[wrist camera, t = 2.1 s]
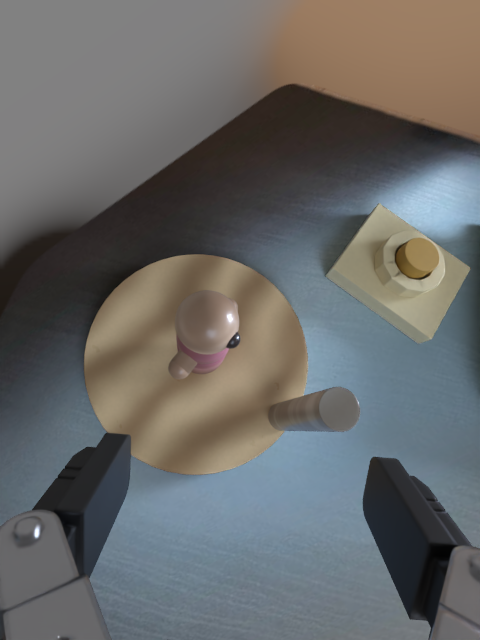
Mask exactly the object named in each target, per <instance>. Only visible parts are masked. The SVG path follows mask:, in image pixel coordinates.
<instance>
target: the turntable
mask: <svg viewBox="0 0 480 640" xmlns="http://www.w3.org/2000/svg"><path fill="white" fill-rule="evenodd" d="M307 373H308V354H307V347H306V341H305V337H304V334H303V330H302V327H301V325H300V322H299V320H298V317H297V315H296V314H295V312H294V310H293V308H292V307H291V305H290V303H289V302H288V301H287V299H286V298H285V297H284V295H283V294H282V293H281V292H280V291H279V290H278V289H277V288H276V287H275V286H274V284H272V283H271V282H270V281H269V280H268V279H266V278H265V277H264V276H263V275H261V274H259V273H258V272H256V271H255V270H253V269H252V268H249V267H247V266H245V265H243V264H241V263H239V262H236V261H233V260H230V259H227V258H223V257H218V256H212V255H203V254H195V255H182V256H174V257H171V258H167V259H163V260H160V261H157V262H155V263H152V264H150V265H148V266H146V267H144V268H142V269H140V270H138V271H136V272H135V273H134V274H132V275H131V276H129V277H128V278H127V279H125V280H124V281H123V282H122V283H121V284H120V285H119V286H118V287H116V288H115V289H114V291H113V292H112V293H111V294H110V295H109V296H108V298H107V299H106V300H105V301H104V303H103V305H102V306H101V308H100V309H99V311H98V312H97V315H96V317H95V319H94V321H93V323H92V325H91V328H90V331H89V335H88V338H87V342H86V348H85V354H84V375H85V384H86V389H87V392H88V396H89V400H90V402H91V405H92V407H93V410H94V412H95V414H96V416H97V418H98V419H99V421H100V423H101V424H102V426H103V428H104V429H105V430H106V431H107V433H118V434H129V435H130V436H131V455H132V456H134V457H135V458H137V459H138V460H140V461H142V462H144V463H146V464H148V465H150V466H152V467H155V468H158V469H161V470H164V471H167V472H173V473H179V474H187V475H203V474H212V473H218V472H222V471H226V470H230V469H233V468H235V467H238V466H240V465H242V464H245V463H247V462H249V461H250V460H252V459H254V458H255V457H257V456H259V455H260V454H261V453H263V452H264V451H265V450H267V449H268V448H269V447H270V446H272V445H273V444H274V442H275V441H276V440H277V439H278V438H279V437H280V436H281V435H282V434H283V433H284V431H328V432H344V431H348V430H350V429H352V428H353V427H354V426H355V425H356V423H357V422H358V420H359V417H360V406H359V402H358V400H357V398H356V397H355V395H354V394H353V393H352V392H350V391H349V390H347V389H345V388H342V387H333V388H329V389H326V390H322V391H319V392H315V393H312V394H308V395H304V396H303V394H304V390H305V386H306V381H307Z"/></svg>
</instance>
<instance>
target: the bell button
mask: <svg viewBox="0 0 480 640" xmlns="http://www.w3.org/2000/svg"><path fill="white" fill-rule="evenodd" d="M395 260H396V265H397V267H398V269H399V270H400V271H401V272H402V273H403V274H404V275H406V276H408V277H410V278H421V277H423V276H425V275H426V274H428V273H429V272H431V271H433V270H434V269H435V268H436V267H437V266H438V264H439V260H440V256H439V252H438V250H437V248H436V247H435V245H434V244H433V243H431V242H430V241H429V240H427V239H424V238H413V239H411V240H409V241H408V242H407V243H406V244H405V245H403V246H402V247H401V248H400V249H399V250H398V251H397V253H396V257H395Z"/></svg>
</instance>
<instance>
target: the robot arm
mask: <svg viewBox="0 0 480 640" xmlns="http://www.w3.org/2000/svg"><path fill="white" fill-rule="evenodd" d="M130 459H131V436H130V435H129V434H118V433H106V434H105V435H104V437H103V438H102V440H101V441H100V443H99V444H98V445H97V447H86V448H85V449H83V450H81V451H80V452H78V453H77V454H75V455H74V456H73V457H72V458H71V460H70V461H69V462H68V463H67V465H66V466H65V469H63V470H62V471H61V473H60V474H59V475H58V478H56V479H55V480H54V482H53V483H52V484H51V486H50V487H49V488H48V490H47V491H46V492H45V494H44V495H43V496H42V497H41V499H40V500H39V501H38V503H37V504H36V505H35V507H34V508H33V509H32V511H27V512H24V513H21V514H18V515H16V516H14V517H12V518H11V519H9V520H7V521H6V522H5V523H4V524H2V525H1V526H0V640H112V639H111V636H110V634H109V631H108V628H107V625H106V623H105V620H104V617H103V615H102V612H101V609H100V607H99V604H98V601H97V599H96V596H95V593H94V590H93V588H92V585H91V582H90V580H89V578H90V576H91V573H92V571H93V569H94V567H95V564H96V562H97V560H98V558H99V555H100V553H101V551H102V549H103V546H104V544H105V542H106V540H107V537H108V535H109V533H110V531H111V528H112V526H113V524H114V522H115V519H116V517H117V515H118V513H119V510H120V508H121V506H122V504H123V501H124V499H125V497H126V494H127V490H128V486H129V480H130ZM363 511H364V516H365V519H366V521H367V523H368V526H369V528H370V530H371V532H372V535H373V537H374V539H375V541H376V544H377V546H378V548H379V550H380V553H381V555H382V557H383V559H384V562H385V564H386V566H387V568H388V571H389V573H390V575H391V578H392V580H393V582H394V584H395V587H396V589H397V591H398V593H399V596H400V598H401V600H402V602H403V605H404V607H405V609H406V611H407V614H408V616H409V618H410V619H413V620H426V621H428V622H429V625H430V627H431V631H430V635H429V638H428V640H480V549H479V548H476V547H473V546H472V545H471V544H470V542H469V541H468V540H467V538H466V537H465V536H464V534H463V533H462V532H461V530H460V529H459V528H458V526H457V525H456V524H455V522H454V521H453V520H452V518H451V517H450V516H449V514H448V513H446V512H445V509H444V508H443V506H442V505H441V504H440V502H438V500H437V498H436V497H435V496H434V494H433V493H432V492H431V490H430V489H429V488H428V487H427V486H426V485H425V484H423V483H422V482H421V481H420V480H418V479H417V478H416V477H415V476H409V474H408V473H407V472H406V470H405V469H404V467H403V466H402V464H401V463H400V462H399V460H397V459H394V458H382V457H373V458H372V459H371V461H370V465H369V470H368V475H367V480H366V485H365V490H364V495H363Z"/></svg>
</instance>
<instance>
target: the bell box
mask: <svg viewBox="0 0 480 640" xmlns="http://www.w3.org/2000/svg"><path fill="white" fill-rule="evenodd" d="M413 238H424V239H427V240H429V241H430V242H431V243H433V244H434V245H435V247H436V248H437V250H438V252H439V256H440V260H439V264H438V266H437V267H436V268H435V269H434V270H433V271H431V272H429V273H428V274H426V275H425V276H423V277H421V278H410V277H408V276H406V275H404V274H403V273H402V272H401V271H400V270H399V269H398V267H397V265H396V260H395V257H396V253H397V251H398V250H399V249H400V248H401V247H402V246H403V245H405V244H406V243H407V242H408V241H409V240H411V239H413ZM470 269H471V268H470V267H469V266H467V265H466V264H465V263H463V262H462V261H460V260H459V259H458V258H456V257H455V256H453V255H452V254H450V253H449V252H448V251H446V250H445V249H443V248H442V247H440V246H439V245H438V244H436V243H435V242H433V241H432V240H431V239H429V238H428V237H426V236H425V235H423V234H422V233H421V232H419V231H418V230H416V229H415V228H413V227H412V226H411V225H409V224H408V223H406V222H405V221H404V220H402V219H401V218H399V217H398V216H396V215H395V214H394V213H392V212H391V211H389V210H388V209H387V208H385V207H384V206H382V205H381V204H378V205H377V206H376V207H375V208H374V210H373V211H372V212H371V213H370V214H369V216H368V217H367V218H366V220H365V221H364V223H363V224H362V225H361V227H360V228H359V230H358V231H357V232H356V234H355V235H354V237H353V238H352V239H351V241H350V242H349V243H348V245H347V246H346V248H345V249H344V250H343V252H342V253H341V255H340V256H339V257H338V259H337V260H336V262H335V263H334V264H333V266H332V267H331V269H330V270H329V271H328V273H327V274H326V275H325V277H327V278H328V279H329V280H331V281H332V282H334V283H335V284H336V285H338V286H339V287H340V288H342V289H343V290H345V291H346V292H347V293H349V294H350V295H352V296H353V297H354V298H356V299H357V300H358V301H360V302H361V303H363V304H364V305H365V306H367V307H368V308H369V309H371V310H372V311H374V312H375V313H376V314H378V315H379V316H380V317H382V318H383V319H385V320H386V321H387V322H389V323H390V324H391V325H393V326H394V327H396V328H397V329H398V330H400V331H401V332H402V333H404V334H405V335H407V336H408V337H409V338H411V339H412V340H413V341H415V342H416V343H418V344H420V343H423V342H426V341H428V340H431V339H432V338H433V336H434V334H435V332H436V330H437V329H438V327H439V325H440V323H441V321H442V320H443V318H444V316H445V314H446V312H447V310H448V309H449V307H450V305H451V303H452V301H453V300H454V298H455V296H456V294H457V292H458V291H459V289H460V287H461V285H462V283H463V282H464V280H465V278H466V276H467V274H468V272H469V271H470Z"/></svg>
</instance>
